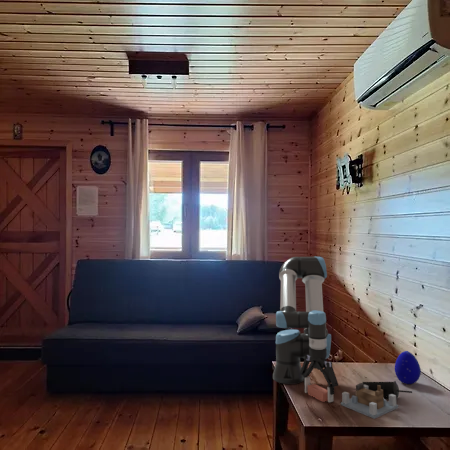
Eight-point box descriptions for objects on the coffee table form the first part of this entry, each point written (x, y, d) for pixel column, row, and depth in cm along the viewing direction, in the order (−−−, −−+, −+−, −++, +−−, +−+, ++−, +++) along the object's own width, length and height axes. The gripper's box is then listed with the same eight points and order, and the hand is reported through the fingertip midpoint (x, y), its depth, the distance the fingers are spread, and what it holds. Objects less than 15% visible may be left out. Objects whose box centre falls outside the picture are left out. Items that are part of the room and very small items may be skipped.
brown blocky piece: (383, 406, 165) (383, 384, 165) (378, 409, 162) (377, 387, 163) (361, 399, 173) (361, 378, 173) (356, 401, 170) (355, 380, 170)
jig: (340, 404, 170) (340, 392, 170) (364, 395, 179) (364, 383, 179) (374, 418, 157) (374, 405, 157) (398, 407, 166) (397, 395, 166)
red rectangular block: (307, 394, 182) (307, 385, 182) (314, 392, 183) (314, 383, 184) (323, 402, 173) (322, 393, 173) (330, 400, 175) (330, 391, 175)
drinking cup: (363, 400, 180) (413, 406, 170) (360, 389, 177) (410, 394, 167) (365, 386, 186) (413, 390, 176) (362, 374, 183) (410, 378, 173)
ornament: (422, 382, 192) (421, 350, 192) (417, 389, 185) (416, 355, 185) (398, 377, 199) (397, 347, 199) (392, 383, 192) (391, 351, 192)
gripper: (291, 342, 186) (292, 390, 186) (334, 355, 166) (335, 408, 166) (303, 340, 191) (304, 386, 190) (346, 352, 171) (347, 403, 170)
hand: (318, 396), depth 178 cm, fingers open, 12 cm apart
